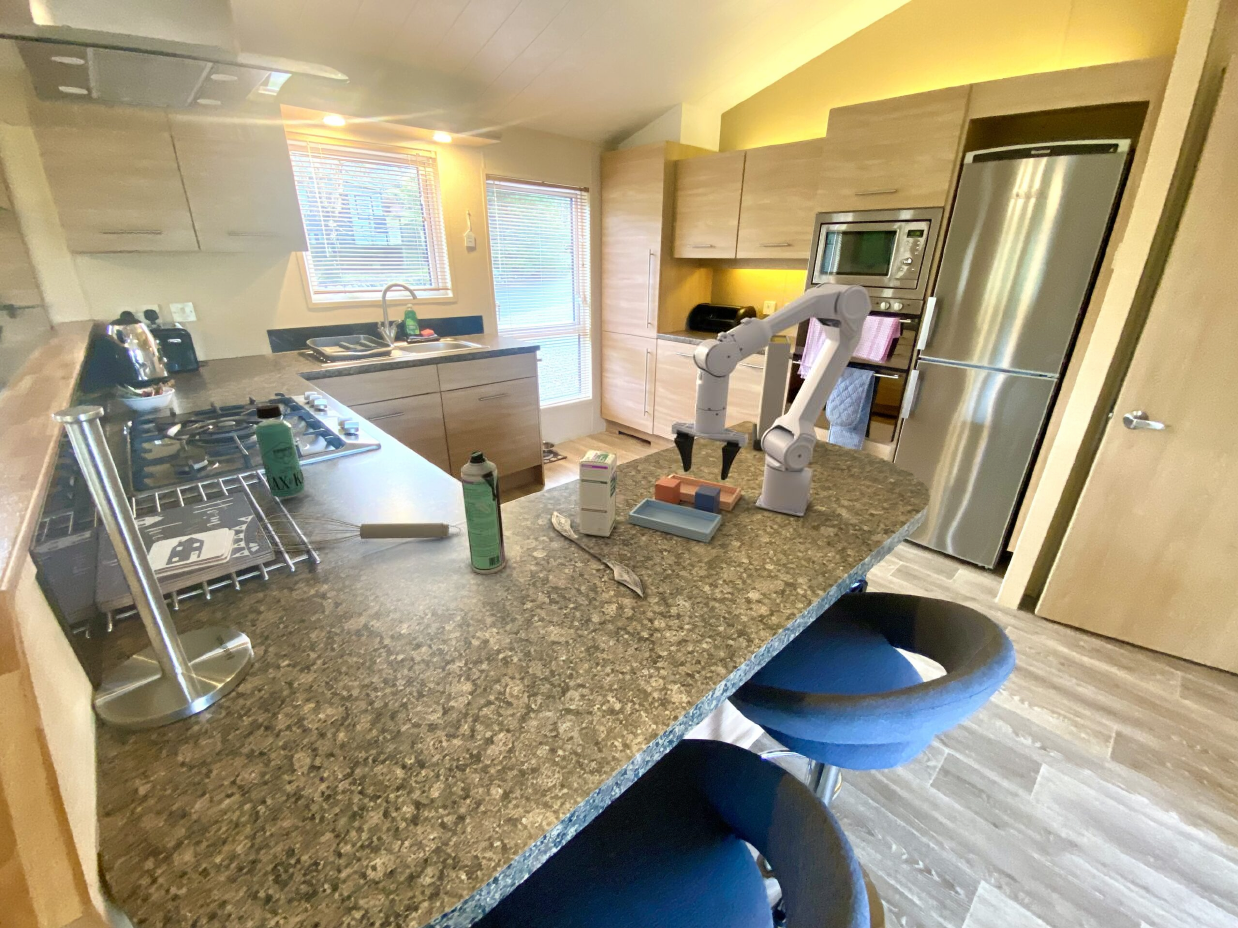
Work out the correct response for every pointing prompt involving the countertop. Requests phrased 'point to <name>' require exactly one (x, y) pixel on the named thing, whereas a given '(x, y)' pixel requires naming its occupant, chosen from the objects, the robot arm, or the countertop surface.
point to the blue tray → (675, 519)
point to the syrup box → (598, 492)
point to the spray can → (483, 514)
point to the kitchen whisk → (372, 531)
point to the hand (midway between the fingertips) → (705, 474)
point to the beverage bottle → (278, 453)
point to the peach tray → (727, 493)
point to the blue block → (707, 499)
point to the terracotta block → (668, 490)
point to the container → (772, 386)
